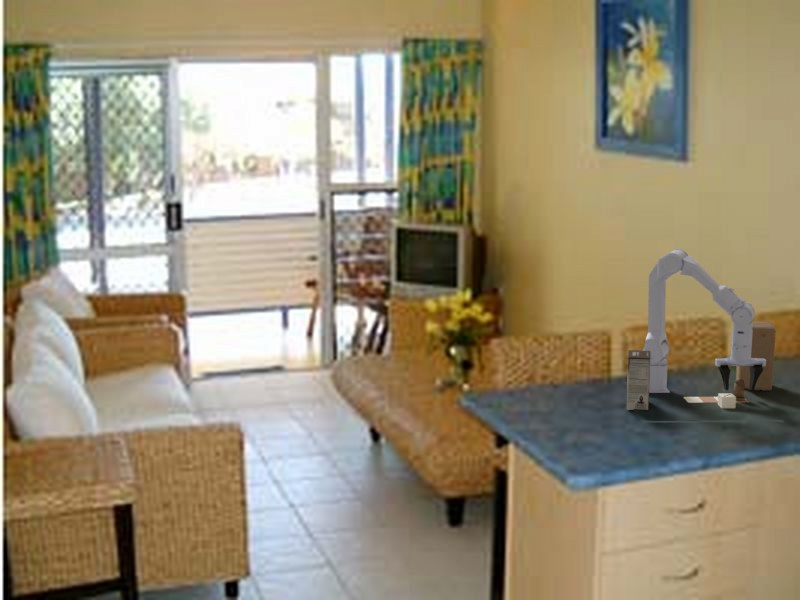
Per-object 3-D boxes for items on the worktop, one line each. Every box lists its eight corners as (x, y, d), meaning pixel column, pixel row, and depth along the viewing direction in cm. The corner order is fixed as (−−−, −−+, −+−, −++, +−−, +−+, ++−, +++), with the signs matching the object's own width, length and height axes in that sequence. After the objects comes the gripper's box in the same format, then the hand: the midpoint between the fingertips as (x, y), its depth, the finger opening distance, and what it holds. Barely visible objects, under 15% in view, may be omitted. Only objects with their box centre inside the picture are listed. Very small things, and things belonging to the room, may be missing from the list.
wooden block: (772, 391, 344) (776, 328, 340) (738, 390, 346) (741, 326, 342) (768, 383, 354) (772, 321, 350) (735, 381, 355) (738, 320, 352)
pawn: (734, 401, 332) (735, 380, 330) (730, 397, 335) (731, 376, 334) (747, 401, 332) (748, 379, 330) (742, 397, 335) (744, 376, 334)
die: (721, 410, 325) (722, 397, 324) (717, 406, 329) (718, 393, 328) (735, 410, 325) (736, 397, 324) (731, 406, 329) (731, 393, 328)
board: (688, 404, 331) (688, 402, 330) (683, 398, 337) (683, 396, 336) (749, 404, 331) (749, 402, 331) (742, 398, 337) (742, 396, 337)
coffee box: (626, 401, 333) (628, 349, 330) (648, 403, 332) (650, 350, 329) (626, 410, 325) (628, 356, 322) (648, 411, 323) (651, 357, 320)
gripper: (721, 348, 326) (718, 393, 329) (770, 347, 327) (767, 393, 329) (714, 342, 333) (711, 386, 336) (762, 342, 334) (759, 386, 336)
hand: (738, 389), depth 333 cm, fingers open, 7 cm apart
